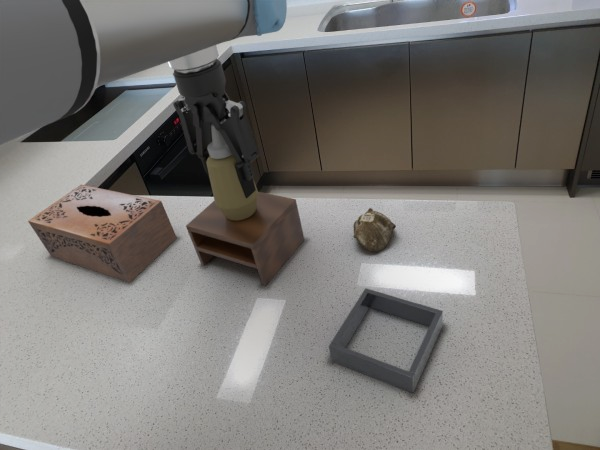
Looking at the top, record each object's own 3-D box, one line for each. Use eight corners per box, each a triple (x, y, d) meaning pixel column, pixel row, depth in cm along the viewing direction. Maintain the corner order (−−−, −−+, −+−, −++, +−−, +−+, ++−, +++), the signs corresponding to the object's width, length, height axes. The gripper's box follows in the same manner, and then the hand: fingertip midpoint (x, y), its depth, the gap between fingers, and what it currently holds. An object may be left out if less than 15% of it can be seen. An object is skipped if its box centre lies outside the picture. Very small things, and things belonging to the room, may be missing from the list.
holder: (413, 393, 62) (412, 378, 60) (331, 361, 69) (328, 346, 67) (442, 326, 70) (442, 310, 68) (367, 302, 77) (365, 288, 74)
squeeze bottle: (245, 229, 82) (217, 138, 71) (211, 220, 86) (180, 133, 75) (270, 204, 87) (248, 115, 76) (237, 196, 91) (211, 111, 80)
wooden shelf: (265, 286, 84) (253, 244, 78) (201, 264, 92) (185, 225, 86) (304, 239, 93) (295, 199, 87) (242, 224, 101) (230, 185, 95)
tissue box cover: (177, 238, 101) (161, 200, 95) (130, 282, 91) (109, 244, 85) (99, 218, 113) (81, 184, 107) (50, 256, 103) (27, 221, 97)
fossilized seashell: (368, 207, 93) (339, 240, 89) (378, 191, 87) (347, 226, 83) (398, 230, 92) (370, 265, 88) (410, 215, 86) (380, 252, 82)
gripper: (261, 56, 67) (289, 187, 81) (168, 54, 77) (207, 172, 91) (229, 76, 62) (265, 212, 76) (135, 71, 72) (182, 192, 86)
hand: (234, 190), depth 83 cm, fingers closed on squeeze bottle, 6 cm apart
